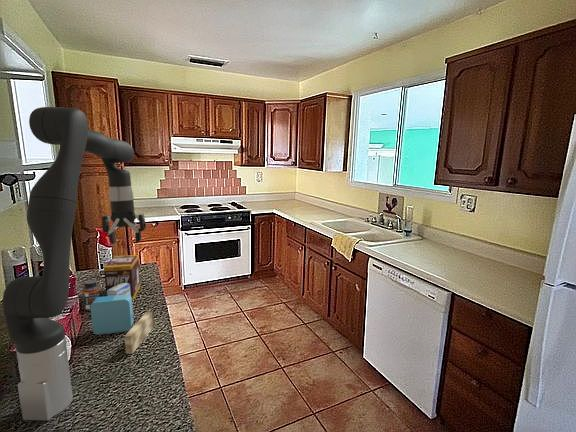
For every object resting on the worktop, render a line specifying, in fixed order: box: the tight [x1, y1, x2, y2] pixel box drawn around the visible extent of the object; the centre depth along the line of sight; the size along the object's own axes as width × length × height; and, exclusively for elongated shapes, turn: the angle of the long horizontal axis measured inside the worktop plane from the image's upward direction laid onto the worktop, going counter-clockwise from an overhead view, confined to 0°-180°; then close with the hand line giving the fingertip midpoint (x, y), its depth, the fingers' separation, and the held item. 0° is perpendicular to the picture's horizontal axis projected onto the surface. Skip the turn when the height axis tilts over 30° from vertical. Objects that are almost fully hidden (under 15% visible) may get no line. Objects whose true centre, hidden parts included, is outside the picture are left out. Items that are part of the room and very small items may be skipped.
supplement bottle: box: [81, 279, 101, 312], centre depth 126 cm, size 6×6×11 cm
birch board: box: [124, 310, 155, 355], centre depth 106 cm, size 16×2×6 cm, turn 0°
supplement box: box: [103, 254, 141, 301], centre depth 139 cm, size 10×15×16 cm
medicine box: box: [107, 283, 131, 296], centre depth 128 cm, size 8×4×9 cm, turn 169°
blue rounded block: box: [90, 294, 134, 336], centre depth 111 cm, size 12×4×12 cm, turn 106°
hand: (126, 242), depth 116 cm, fingers open, 8 cm apart
